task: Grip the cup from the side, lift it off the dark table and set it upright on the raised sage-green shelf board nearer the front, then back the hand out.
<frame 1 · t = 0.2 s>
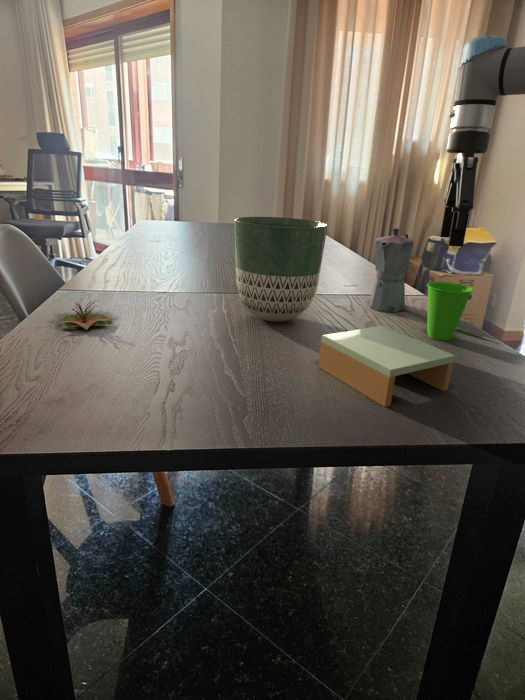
hand: (450, 241, 99), 19 cm above the table, tool pointing down, fingers open, 13 cm apart
lily flower: (85, 324, 96), on the table
moka pot: (386, 308, 121), on the table
shelf: (380, 378, 78), on the table
cup: (439, 337, 101), on the table
planter: (274, 319, 106), on the table
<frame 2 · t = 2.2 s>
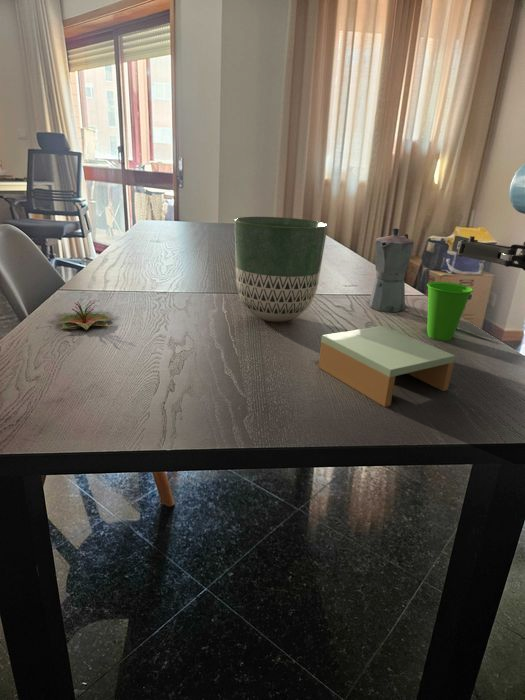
hand: (489, 246, 87), 21 cm above the table, tool horizontal, fingers open, 13 cm apart
nothing on the table moved.
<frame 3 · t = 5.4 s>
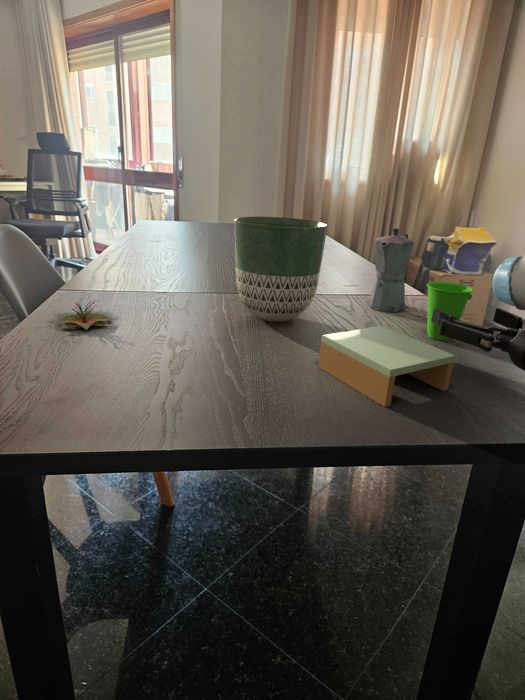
hand: (465, 314, 92), 7 cm above the table, tool horizontal, fingers open, 13 cm apart
nothing on the table moved.
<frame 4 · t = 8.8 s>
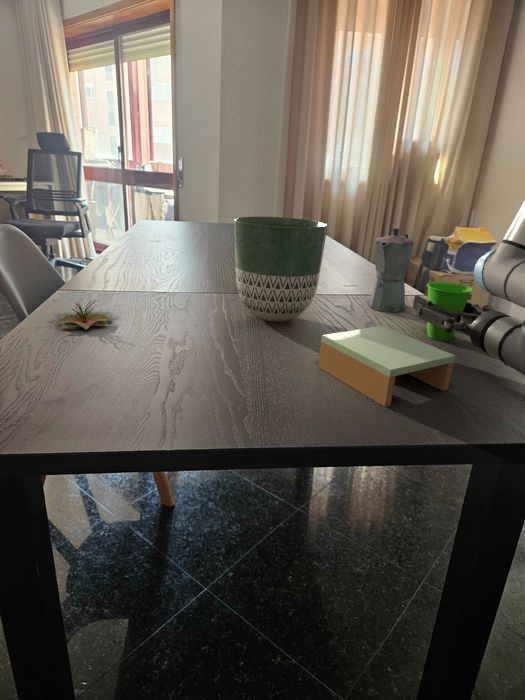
hand: (433, 301, 103), 6 cm above the table, tool horizontal, fingers closed on cup, 8 cm apart
cup: (439, 337, 101), on the table, touching gripper
everything else where it was.
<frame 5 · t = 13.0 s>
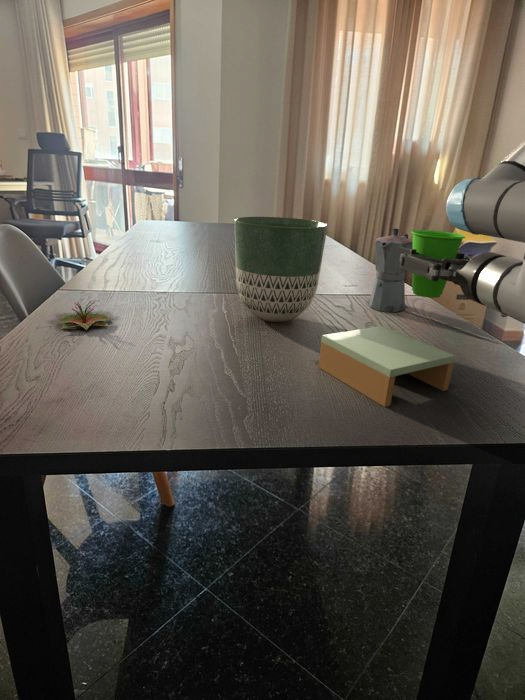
hand: (420, 254, 88), 18 cm above the table, tool horizontal, fingers closed on cup, 8 cm apart
cup: (426, 295, 86), point 11 cm above the table, touching gripper
everything else where it was.
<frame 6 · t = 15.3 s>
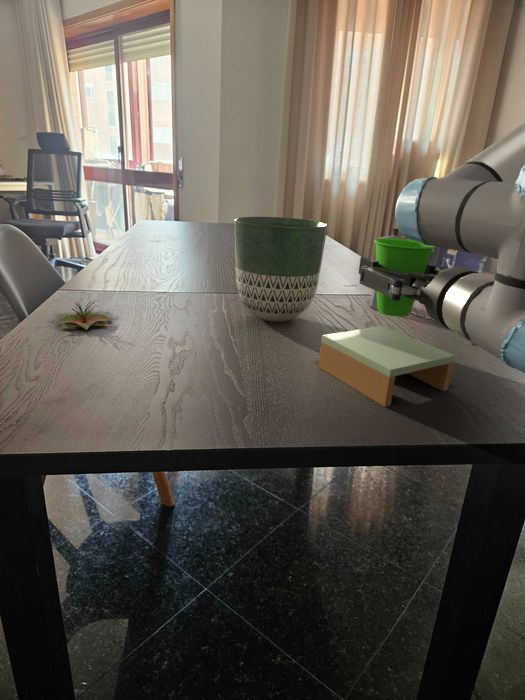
hand: (386, 265, 77), 18 cm above the table, tool horizontal, fingers closed on cup, 8 cm apart
cup: (393, 313, 75), point 11 cm above the table, touching gripper
everything else where it was.
when the fingers open (12 cm above the table, at t = 17.2 s): cup stays where it is, resting on shelf.
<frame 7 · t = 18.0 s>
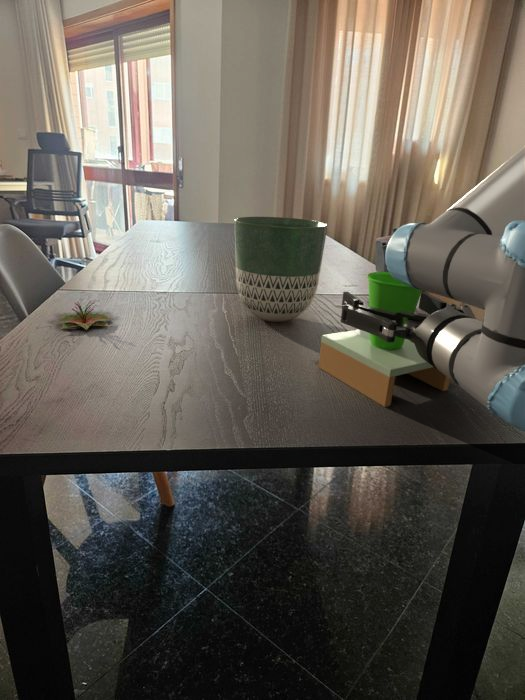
hand: (383, 299, 77), 13 cm above the table, tool horizontal, fingers open, 13 cm apart
cup: (385, 345, 76), point 6 cm above the table, touching shelf
everything else where it was.
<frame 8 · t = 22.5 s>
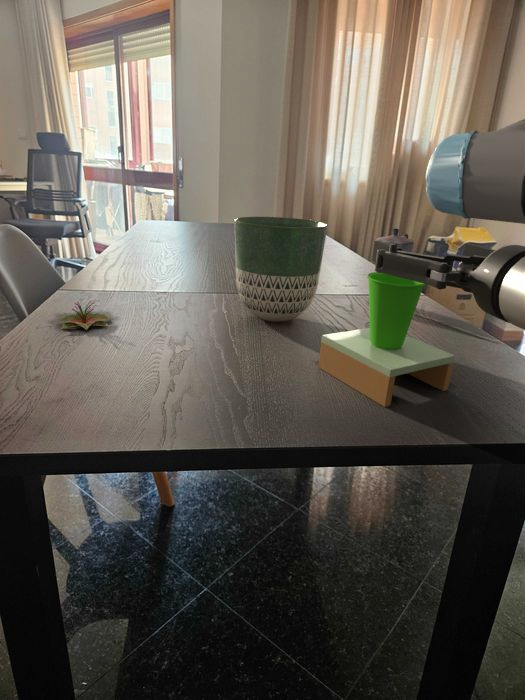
hand: (421, 251, 65), 22 cm above the table, tool horizontal, fingers open, 13 cm apart
nothing on the table moved.
at the end: cup inside the target area on the shelf (0.0 cm from its centre), point 5.8 cm above the shelf's base; cup tilted 0°; the gripper is holding nothing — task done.
